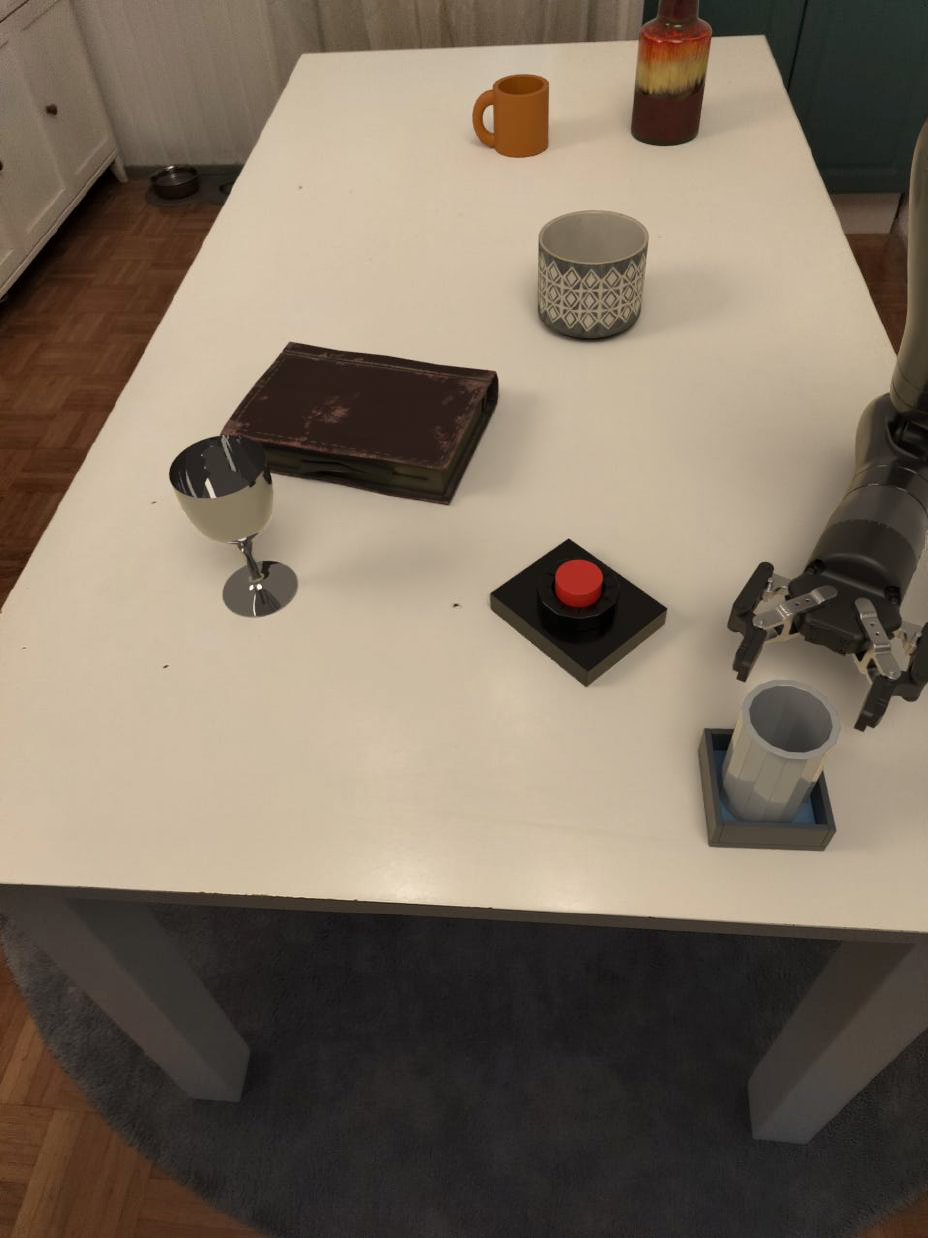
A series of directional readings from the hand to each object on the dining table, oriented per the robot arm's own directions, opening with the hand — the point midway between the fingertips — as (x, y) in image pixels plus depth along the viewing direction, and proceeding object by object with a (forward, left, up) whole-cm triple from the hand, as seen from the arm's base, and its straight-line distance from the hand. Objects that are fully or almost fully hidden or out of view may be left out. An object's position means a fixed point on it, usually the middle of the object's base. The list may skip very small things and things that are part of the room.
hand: (800, 699), depth 62 cm
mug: (+98, -63, -8) cm, 117 cm away
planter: (+54, -35, -8) cm, 65 cm away
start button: (+21, +1, -5) cm, 21 cm away
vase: (+83, -83, -8) cm, 118 cm away
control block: (+21, +1, -8) cm, 22 cm away
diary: (+55, -1, -8) cm, 56 cm away
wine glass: (+44, +20, -8) cm, 49 cm away
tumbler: (-1, +4, -7) cm, 8 cm away
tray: (-1, +4, -8) cm, 9 cm away
